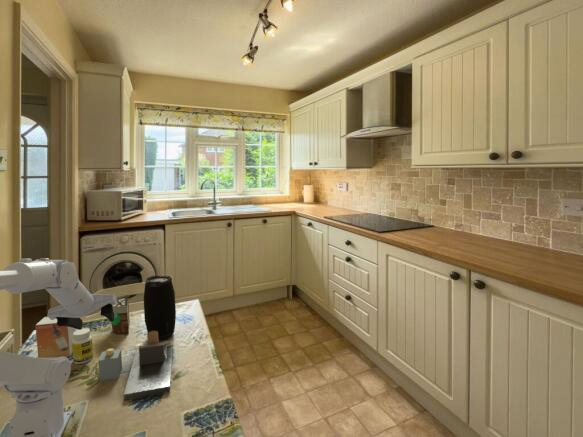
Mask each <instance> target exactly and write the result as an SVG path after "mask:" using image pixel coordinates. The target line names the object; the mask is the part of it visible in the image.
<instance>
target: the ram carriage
mask: <svg viewBox="0 0 583 437" xmlns="http://www.w3.org/2000/svg"><path fill="white" fill-rule="evenodd" d="M146 335H147V336H146V337H147V338H146V339H147V344H146V345H140V346H139V347H138V350H139V359H140V365H146V364H153V363H159V362H164V344H165V343H164V342H161V343H159V342H160V341H159V340H158V331H150V332H148V333H147V332H146Z"/></svg>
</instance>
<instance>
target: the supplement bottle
mask: <svg viewBox="0 0 583 437" xmlns="http://www.w3.org/2000/svg"><path fill="white" fill-rule="evenodd" d="M72 350H73V352H72V361H73V363H74V364H76V365H81V364H85V363H88V362H90V361H91V360H93V357H94V348H93V336H92V335H91V330H90V329H89V328H82V329H81V330H78V329H76V331H75V332H74V333H73V340H72Z"/></svg>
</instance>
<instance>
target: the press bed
mask: <svg viewBox="0 0 583 437" xmlns="http://www.w3.org/2000/svg"><path fill="white" fill-rule="evenodd" d="M173 356H174V344H173V345H172V344H170V345H168V344H167V343H164V362H159V363H153V364H146V365H140V359H139V349H136V351H135V354H134V358H133V362H132V365H131V368H130V372H129V376H128V378H127V383H126V386H125V389H124V392H123V401H129V400H133V399H140V398H145V397H151V396H155V395H160V394H168V393H171V385H172V371H173V358H174V357H173Z"/></svg>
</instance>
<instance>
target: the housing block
mask: <svg viewBox="0 0 583 437" xmlns="http://www.w3.org/2000/svg"><path fill="white" fill-rule="evenodd" d="M97 364H98V376H99V381H100V382H103V381H110V380H114V379H119V378H121V374H122V370H123V360H122V349H121V348H120V349H119V348H118V349H114V348H107V349H106V350H105V351H102V352H101V354H100V356H99V358H98V361H97Z"/></svg>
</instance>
